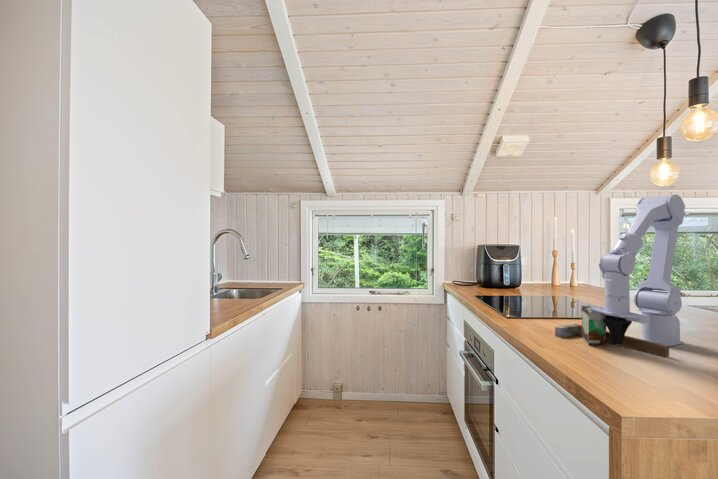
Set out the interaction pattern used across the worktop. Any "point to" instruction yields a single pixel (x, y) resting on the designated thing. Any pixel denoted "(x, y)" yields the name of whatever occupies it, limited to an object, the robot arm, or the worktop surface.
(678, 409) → the worktop surface
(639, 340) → the rail
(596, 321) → the food container
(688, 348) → the worktop surface
